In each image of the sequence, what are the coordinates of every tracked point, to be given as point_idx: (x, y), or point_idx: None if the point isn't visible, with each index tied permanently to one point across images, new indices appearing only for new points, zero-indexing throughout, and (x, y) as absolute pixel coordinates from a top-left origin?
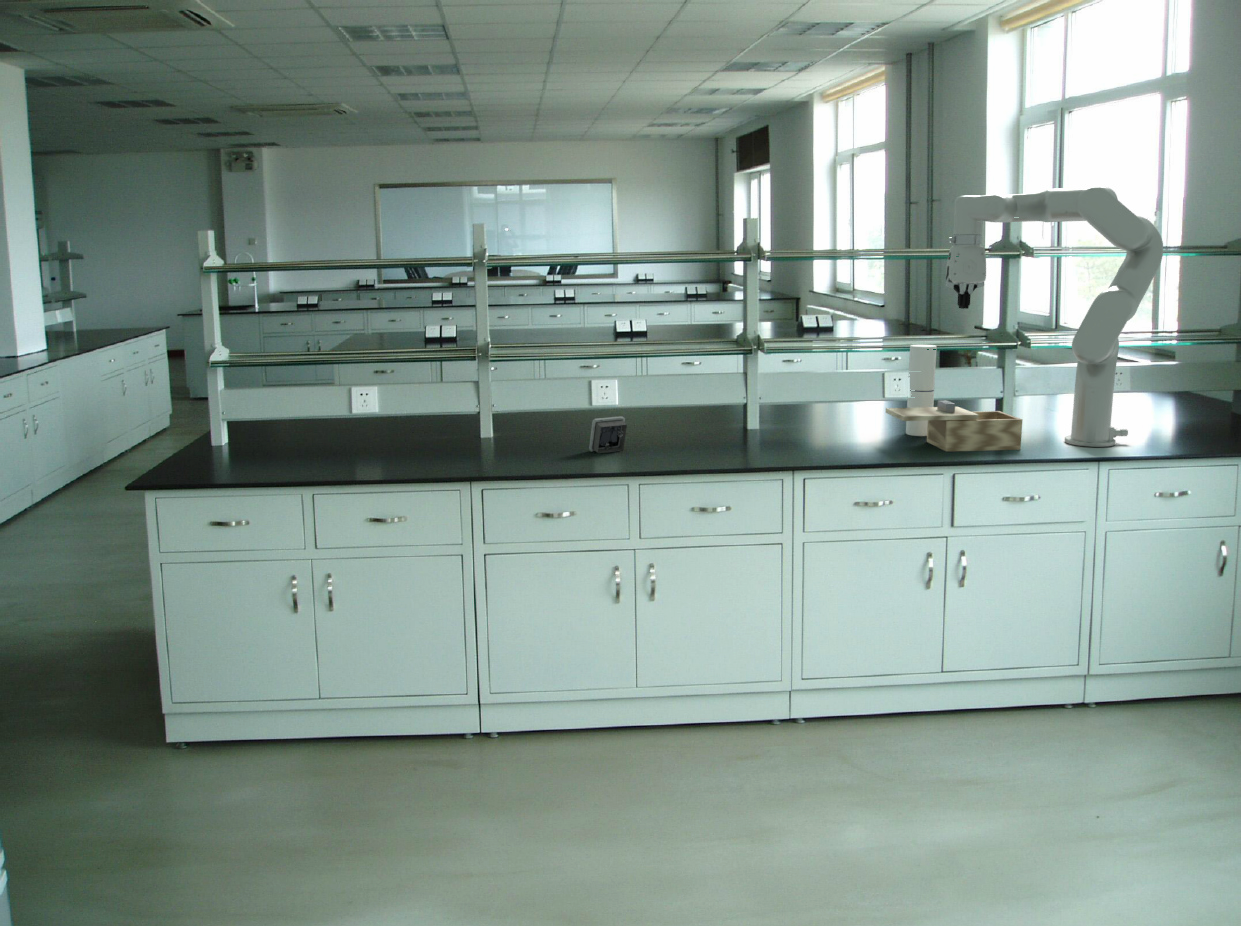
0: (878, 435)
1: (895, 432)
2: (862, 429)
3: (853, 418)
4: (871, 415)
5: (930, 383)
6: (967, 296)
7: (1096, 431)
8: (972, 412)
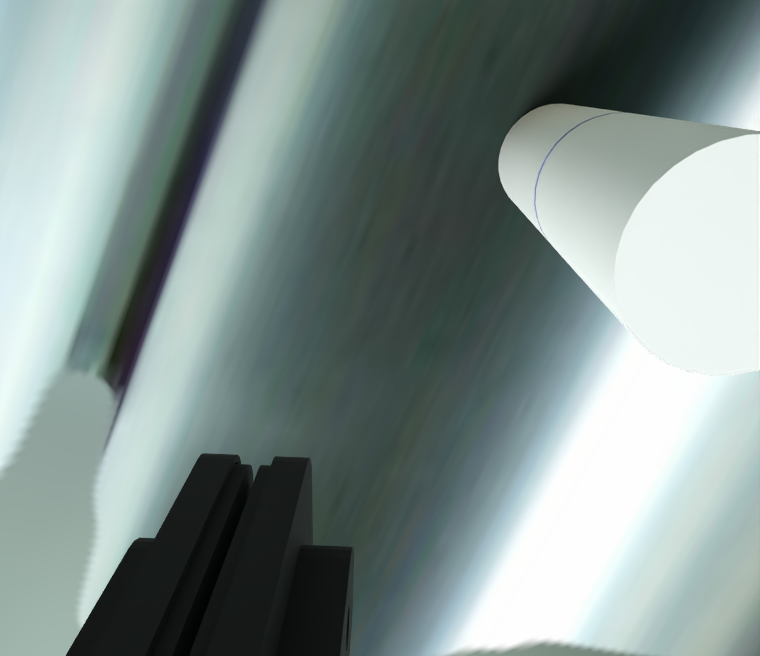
0: None
1: None
2: None
3: (638, 530)
4: (541, 574)
5: (605, 122)
6: (158, 620)
7: None
8: None
